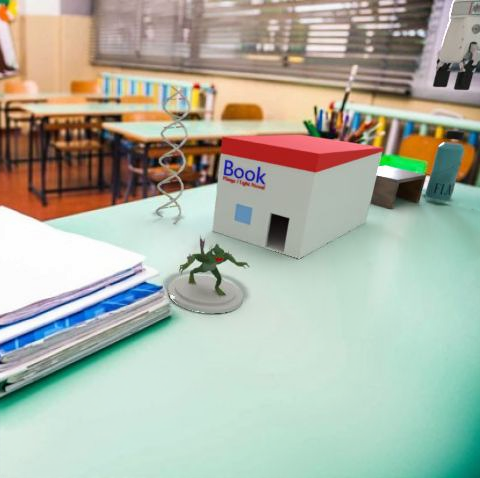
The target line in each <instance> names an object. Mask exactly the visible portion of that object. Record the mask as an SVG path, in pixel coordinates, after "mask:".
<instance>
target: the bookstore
mask: <svg viewBox="0 0 480 478" xmlns="http://www.w3.org/2000/svg"><path fill="white" fill-rule="evenodd" d="M384 149H385V148H384V147H383V146H376V145H369V144H363V143H355V142H351V141H343V140H336V139H330V138H324V137H317V136H311V135H304V134H272V135H271V134H268V135H267V134H266V135H235V136H234V135H233V136H232V135H231V136H222V137H221V146H220V157H219V169H218V177H217V184H216V185H217V186H216V195H215V201H214V213H213V221H212V228H211V230H212V232H214V233H218V234H220V235H224V236H227V237H228V238H229V237H230V238H233V239H236V240H238V241H241V242H245V243H248V244H251V245H254V246H256V247H260V248H263V249H266V250H268V251H269V250H270V251H272V252H275V251H276V252H275V253H278V252H279V254H281V253H282V254H281V255H284V254H286V255H285V256H287V255H289V256H288V257H290V256H292V257H291V258H293V257H295V258H294V259H296V258H298V259H297V260H301V259H302V258H301V257H303V256H304V257H306V256H308V255H310V254H312V253H314V252H315V251H317V250H319V249H321V248H322V247H324V246H326V245H328V244H330V243H332V242H334V241H336V240H337V239H339V238H340V236H341V237H343V236H344V235H346V234H348V233H350V232H351V231H353V230H355V229H358V228H359V227H361V226H363V225H364V224H366V222H367V218H368V216H369V215H368V214H369V211H370V207H371V203H370V202H371V198H372V193H373V189H374V185H375V181H376V176H377V172H378V168H379V167H380V163H381V159H382V155H383V152H384ZM360 225H361V226H360ZM358 226H359V227H358ZM349 231H350V232H349ZM338 237H339V238H338ZM331 241H332V242H331ZM329 242H330V243H329ZM327 243H328V244H327ZM320 247H321V248H320ZM318 248H319V249H318ZM311 252H312V253H311ZM309 253H310V254H309ZM307 254H308V255H307ZM305 255H306V256H305ZM304 257H303V258H304ZM300 258H301V259H300Z"/></svg>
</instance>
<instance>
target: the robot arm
mask: <svg viewBox="0 0 480 478" xmlns="http://www.w3.org/2000/svg"><path fill="white" fill-rule="evenodd" d="M448 19H449V22H448V24H447V28H446V29H445V33H444V36H443V38H442V39H443V40H442V44H441V47H440V50H438V51H437V59H436V67H435V70H436V72H435V74H434V80H433V83H432V87H434V88H447V87H448V83H449V81H450V76H451V72H452V71H451V70H450V69H451V68H452V66H453V65H454V64H458V67H459V71H457V75H456V78H455V82H454V85H453V90H456V91H469V90H470V87H471V85H472V80H473V77H474V73H475V72H476V70H477V67H478V65H479V64H480V0H452V4H451V8H450V11H449V16H448Z"/></svg>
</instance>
